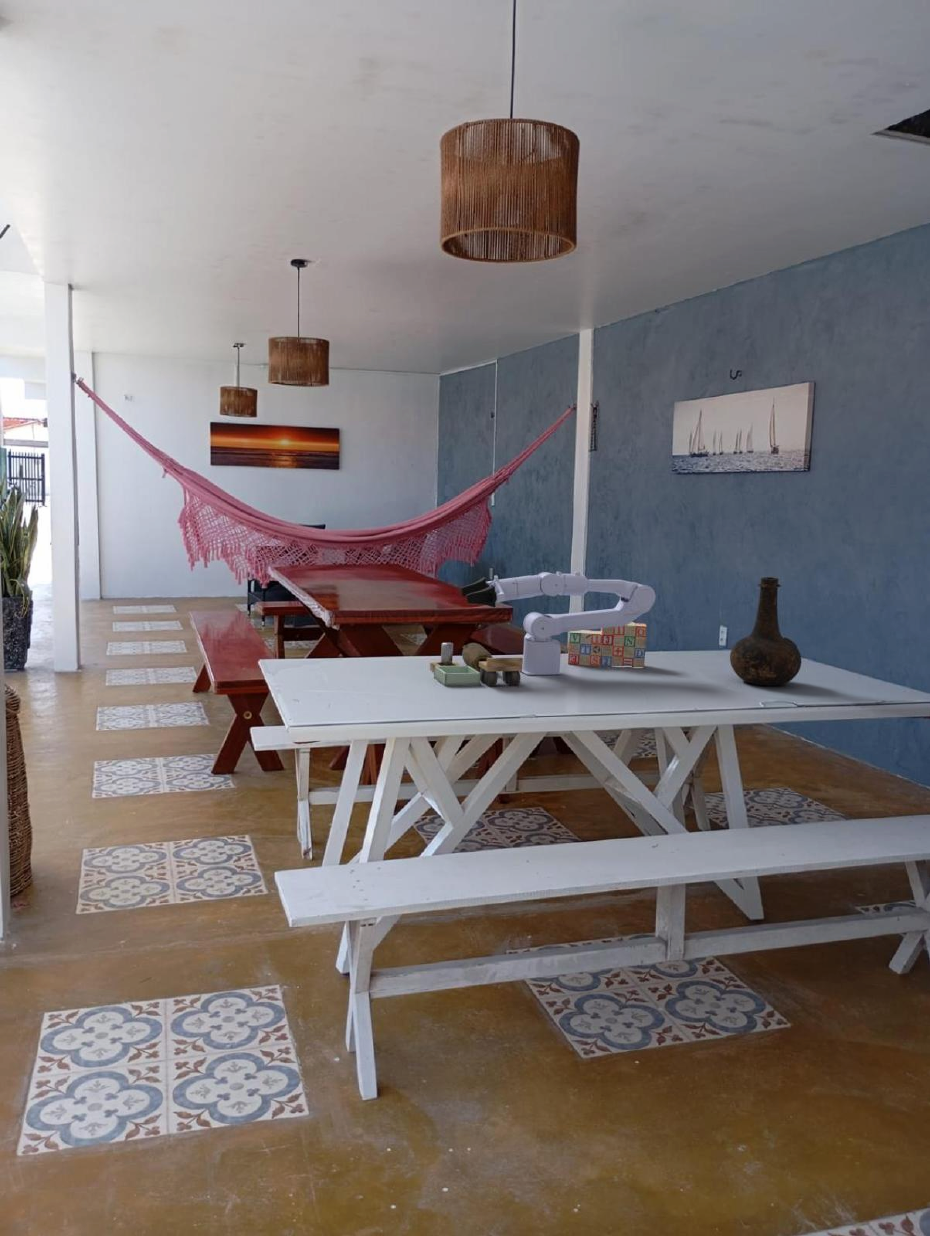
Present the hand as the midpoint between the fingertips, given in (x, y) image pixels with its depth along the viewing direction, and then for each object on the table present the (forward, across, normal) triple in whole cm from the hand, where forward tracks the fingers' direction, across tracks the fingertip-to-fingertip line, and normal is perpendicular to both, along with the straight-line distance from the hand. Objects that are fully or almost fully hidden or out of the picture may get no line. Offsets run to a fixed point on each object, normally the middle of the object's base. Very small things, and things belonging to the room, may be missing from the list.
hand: (464, 595), depth 252 cm
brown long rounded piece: (-2, 0, +21) cm, 21 cm away
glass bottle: (-75, +16, +31) cm, 83 cm away
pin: (+7, +2, +19) cm, 21 cm away
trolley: (-4, +18, +19) cm, 26 cm away
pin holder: (+7, +2, +19) cm, 20 cm away
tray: (+6, +15, +18) cm, 24 cm away
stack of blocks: (-40, -9, +29) cm, 50 cm away
